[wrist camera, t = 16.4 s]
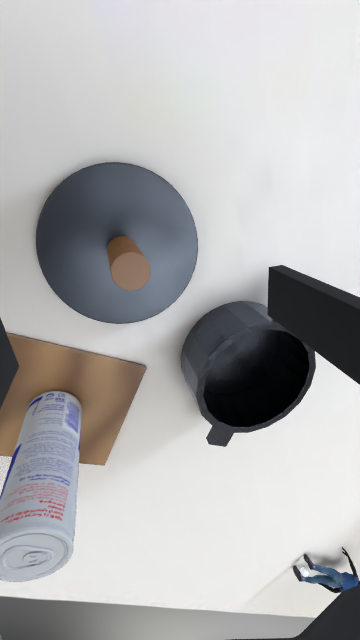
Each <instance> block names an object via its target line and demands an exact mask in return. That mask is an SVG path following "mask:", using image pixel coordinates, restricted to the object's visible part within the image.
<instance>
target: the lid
mask: <svg viewBox="0 0 360 640" xmlns="http://www.w3.org/2000/svg"><path fill="white" fill-rule="evenodd" d="M36 248H37V256H38V260H39V264H40V267H41V269H42V272H43V274H44V276H45V278H46V280H47V282H48V284H49V285H50V287H51V288H52V289H53V291H54V292H55V293H56V294H57V295H58V297H59V298H60V299H61V300H62V301H63V302H65V303H66V304H67V305H68V306H69V307H71V308H72V309H74V310H75V311H77V312H78V313H80V314H82V315H84V316H86V317H89V318H91V319H94V320H97V321H102V322H106V323H116V324H122V323H133V322H138V321H142V320H145V319H148V318H150V317H153V316H155V315H157V314H159V313H160V312H162V311H163V310H165V309H166V308H168V307H169V306H170V305H171V304H172V303H173V302H175V301H176V300H177V298H178V297H179V296H180V295H181V294H182V292H183V291H184V289H185V288H186V287H187V285H188V283H189V281H190V279H191V277H192V274H193V271H194V269H195V264H196V260H197V252H198V239H197V232H196V227H195V223H194V220H193V217H192V215H191V212H190V210H189V208H188V206H187V205H186V203H185V201H184V200H183V198H182V197H181V196H180V194H179V193H178V192H177V191H176V190H175V189H174V188H173V187H172V186H171V185H170V184H169V183H168V182H167V181H166V180H164V179H163V178H162V177H160V176H159V175H157V174H155V173H153V172H152V171H150V170H147V169H145V168H142V167H140V166H136V165H132V164H127V163H119V162H113V163H101V164H95V165H92V166H89V167H86V168H83V169H81V170H79V171H77V172H75V173H73V174H72V175H70V176H69V177H68V178H66V179H65V180H63V181H62V182H61V183H60V184H59V185H58V186H57V187H56V188H55V189H54V191H53V192H52V193H51V195H50V196H49V197H48V199H47V201H46V203H45V205H44V207H43V208H42V211H41V214H40V217H39V220H38V225H37V230H36Z"/></svg>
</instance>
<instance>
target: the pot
mask: <svg viewBox="0 0 360 640" xmlns="http://www.w3.org/2000/svg"><path fill="white" fill-rule="evenodd" d="M267 313H268V308H267V307H265V306H264V305H262V304H258V303H255V302H249V301H238V302H232V303H228V304H225V305H222V306H220V307H217V308H216V309H214V310H212V311H210V312H209V313H207V314H206V315H205V316H204V317H202V318H201V319H200V320H199V321H198V322H197V323H196V324H195V326H194V327H193V328H192V330H191V331H190V332H189V334H188V336H187V338H186V340H185V343H184V345H183V349H182V354H181V368H182V372H183V374H184V377H185V380H186V383H187V385H188V387H189V389H190V391H191V393H192V395H193V398H194V400H195V402H196V404H197V406H198V408H199V410H200V412H201V414H202V416H203V417H204V418H205V419H206V420H207V421H208V422H209V423H210V424H211V425H212V428H211V430H210V432H209V434H208V436H207V437H206V439H207V441H208V443H209V444H211V445H218V446H225V447H226V446H227V444H228V442H229V441H230V439H231V437H232V435H233V434H234V433H248V432H252V431H255V430H259V429H262V428H266V427H268V426H270V425H272V424H273V423H275V422H277V421H278V420H280V419H282V418H284V417H285V416H286V415H287V414H288V413H290V412H291V411H292V410H293V409H294V408H295V407H296V406H297V405H298V404H299V403H300V402H301V400H302V399H303V397H304V395H305V394H306V392H307V391H308V389H309V387H310V386H311V383H312V379H313V376H314V372H315V369H316V363H315V351H314V350H313V349H312V348H310V347H309V346H308V345H306V344H305V343H304V342H302V341H301V340H300V339H298V338H297V337H296V336H294V335H293V334H292V333H291V332H289V331H288V330H287V329H285V328H284V327H283V326H281V325H280V324H279V323H277V322H276V321H275V320H273V319H272V318H271V317H269V316H268V315H267Z"/></svg>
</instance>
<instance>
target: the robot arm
mask: <svg viewBox="0 0 360 640" xmlns="http://www.w3.org/2000/svg"><path fill="white" fill-rule="evenodd" d="M267 315H268V316H269V317H271V318H272V319H273V320H275V321H276V322H277V323H279V324H280V325H281V326H283V327H284V328H285V329H287V330H288V331H289V332H291V333H292V334H293V335H294V336H296V337H297V338H298V339H300V340H301V341H302V342H304V343H305V344H306V345H308V346H309V347H310V348H312V349H313V350H314V351H316V352H317V353H318V354H320V355H321V356H322V357H324V358H325V359H326V360H328V361H329V362H330V363H332V364H333V365H334V366H336V367H337V368H338V369H340V370H341V371H342V372H344V373H345V374H346V375H348V376H349V377H350V378H352V379H353V380H354V381H356V382H357V383H358V384H360V297H357V296H355V295H352V294H350V293H348V292H345V291H343V290H341V289H338V288H336V287H333V286H331V285H329V284H326V283H324V282H321V281H319V280H317V279H314V278H312V277H310V276H307V275H305V274H302V273H300V272H298V271H295V270H293V269H290V268H288V267H286V266H283V265H279V266H274V267H269V280H268V313H267ZM18 368H19V364H18V361H17V359H16V356H15V354H14V351H13V349H12V346H11V344H10V341H9V339H8V336H7V334H6V331H5V328H4V326H3V323H2V321H1V318H0V409H1V407H2V404H3V402H4V400H5V398H6V395H7V393H8V391H9V389H10V386H11V384H12V382H13V380H14V377H15V375H16V373H17V371H18ZM0 640H3V639H2V637H1V635H0ZM232 640H234V639H232ZM235 640H360V584H359V585H357V586H355V587H352V588H350V589H347V590H345V591H343V592H342V593H341V594H340V595H339V596H338V597H337V598H336V599H335V600H334V601H333V602H332V603H331V604H330V605H329V606H328V607H327V608H326V609H325V610H324V611H323V612H322V613H321V614H320V615H319V616H318V617H317V618H316V619H315V620H314V621H313V622H312V623H311V624H310V625H309V626H308V627H307V628H306V629H305V630H304V631H303V632H302V633H301V634H300V635H298V636H296V637H294V638H280V639H279V638H278V639H235Z"/></svg>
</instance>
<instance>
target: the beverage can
mask: <svg viewBox="0 0 360 640" xmlns="http://www.w3.org/2000/svg"><path fill="white" fill-rule="evenodd" d="M81 422H82V406H81V404H80V402H79V401H78V400H77V398H75V397H74V396H72V395H71V394H68V393H65V392H60V391H52V392H47V393H43V394H41V395H39V396H37V397H36V398H34V399H33V400H32V401H31V402H30V404H29V406H28V408H27V412H26V415H25V418H24V421H23V425H22V428H21V431H20V434H19V438H18V441H17V444H16V447H15V451H14V454H13V457H12V460H11V464H10V467H9V470H8V473H7V477H6V480H5V483H4V486H3V489H2V493H1V496H0V580H2V581H9V582H23V581H30V580H35V579H38V578H42V577H45V576H47V575H50V574H52V573H54V572H55V571H57V570H58V569H60V568H62V567H63V566H64V565H65V564H66V563H67V562H68V561H69V559H70V558H71V556H72V553H73V540H74V534H75V518H76V502H77V486H78V470H79V454H80V438H81Z"/></svg>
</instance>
